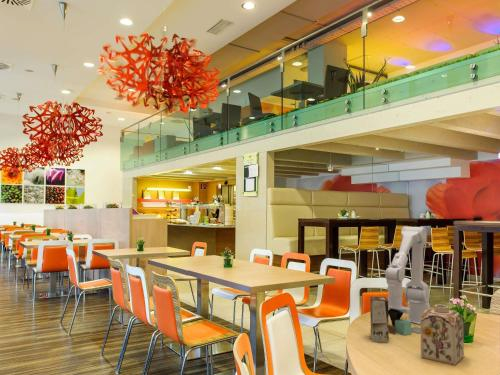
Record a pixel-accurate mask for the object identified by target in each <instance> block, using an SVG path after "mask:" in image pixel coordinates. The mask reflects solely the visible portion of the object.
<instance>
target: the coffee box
mask: <svg viewBox="0 0 500 375" xmlns="http://www.w3.org/2000/svg"><path fill="white" fill-rule="evenodd" d="M387 298H388V297H387V296H370V297H369V300H370V302H369V304H370V337H371V340H372V342H373V343H374V342H375V343H376V342H377V343H378V342H379V343H386V344H387V343H389V336H390V333H389V332H388V325H389V315H388V310H389V308H388V299H387Z"/></svg>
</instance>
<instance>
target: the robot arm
mask: <svg viewBox="0 0 500 375" xmlns="http://www.w3.org/2000/svg"><path fill="white" fill-rule="evenodd" d="M400 232H401V233H400V237H401V242H400V245H399V249H398V252H396V253H395V254H394V257H393V259H392V261H391V264H390V266H388V267H387V268H386V270H385V273H384V277H385V280H386V284H387V298H388V299H387V300H388V317H389V318H390V322H391V324H392V326H395V320H400V319H402V317H403V315H404V314H406V315H408V318H405V319H404V320H406V321H410V322H411V323H413V324H416V325H421V317H422V315H423V312H424V311H425V310H427V309H431V308H432V307H431V305H430V303H429V301H430V296H431V295H430V294H431V293H430V288H429V285H428V284H427V283H426V282H424V281H423V278H424V276H423V274H424V246H426V245H427V238H428V236H427V235H428V233H427V229H426V228H425V227H424V226H406V225H405V226H403V227H402V228H401V231H400ZM410 250H411V274H410V275H411V279H410V281H408V282H407V283H406V284H405V290H404V297H405V299H406V300H407V302H408V307H406V306H404V305H403V281H404V280H405V277H406V276H405V274H406V266H407V263H408V260H409V258H408V254H409V251H410Z"/></svg>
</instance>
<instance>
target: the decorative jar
mask: <svg viewBox="0 0 500 375" xmlns="http://www.w3.org/2000/svg"><path fill="white" fill-rule="evenodd" d="M430 308H431V309H427V310H425V311H424V312H423V315H422V317H421V324H420V328H421V333H420V357H421V359H426V360H431V361H435V362H439V363H444V364H449V365H453V366H456V365H457V364H458V363H459V362H460V361H461V360H462V359H463V357H465V354H464V352H465V351H464V350H465V348H464V345H465V344H464V343H465V342H464V321H463V320H464V318H462V315H461V314H460V313H459V312H458V311H456V310H453V309H449V306H448V305H446V304H445V305H444V304H434V307H430Z"/></svg>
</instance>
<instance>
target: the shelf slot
mask: <svg viewBox="0 0 500 375" xmlns="http://www.w3.org/2000/svg"><path fill="white" fill-rule="evenodd" d="M388 332H389V334H391V335H396V334H397V333H396V327H395V326H392V325H391V324H388Z"/></svg>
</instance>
